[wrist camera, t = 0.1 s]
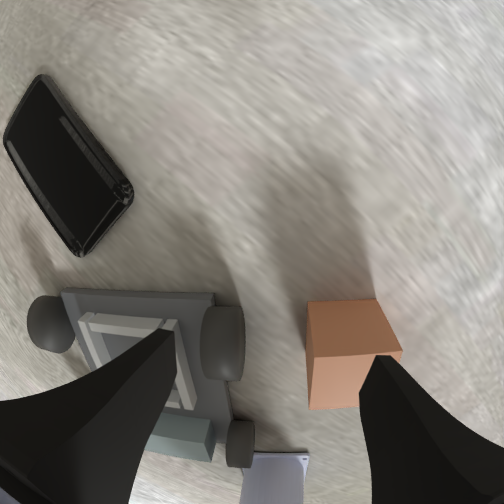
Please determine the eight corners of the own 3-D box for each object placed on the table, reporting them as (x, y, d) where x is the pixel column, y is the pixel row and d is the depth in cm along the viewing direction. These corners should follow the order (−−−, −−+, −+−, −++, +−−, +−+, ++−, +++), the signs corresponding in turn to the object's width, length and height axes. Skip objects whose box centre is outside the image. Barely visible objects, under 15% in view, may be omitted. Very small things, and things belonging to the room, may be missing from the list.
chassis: (255, 438, 26) (250, 476, 21) (110, 415, 28) (93, 443, 23) (242, 293, 20) (230, 336, 15) (52, 286, 22) (19, 311, 17)
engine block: (367, 347, 21) (385, 403, 15) (305, 351, 21) (308, 409, 16) (375, 298, 19) (402, 350, 13) (307, 301, 20) (314, 357, 14)
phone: (79, 263, 20) (0, 139, 17) (87, 257, 21) (8, 138, 18) (136, 195, 17) (40, 68, 14) (143, 192, 18) (49, 69, 15)
